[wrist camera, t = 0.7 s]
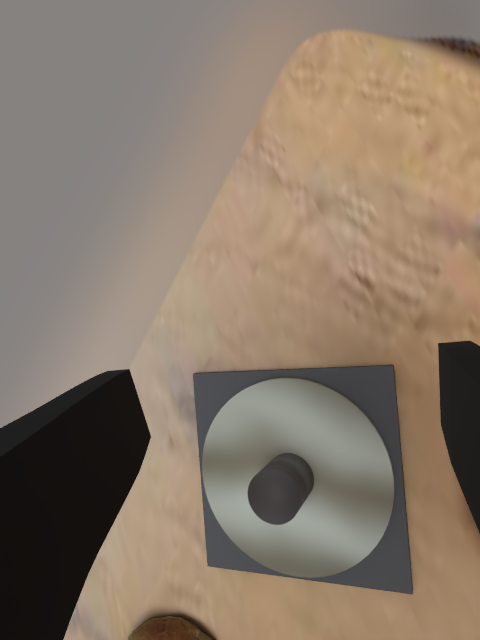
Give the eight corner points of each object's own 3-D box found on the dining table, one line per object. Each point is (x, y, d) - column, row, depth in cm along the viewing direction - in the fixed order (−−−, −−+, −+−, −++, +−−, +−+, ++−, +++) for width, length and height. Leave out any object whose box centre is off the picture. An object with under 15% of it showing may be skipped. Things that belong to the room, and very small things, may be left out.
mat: (412, 589, 29) (412, 594, 28) (210, 562, 34) (207, 566, 33) (393, 364, 29) (393, 365, 28) (196, 373, 34) (193, 373, 34)
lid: (403, 584, 28) (399, 628, 24) (213, 559, 33) (184, 593, 29) (385, 374, 29) (378, 383, 25) (199, 380, 34) (169, 389, 30)
